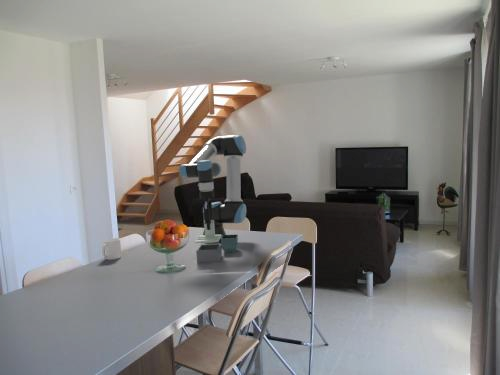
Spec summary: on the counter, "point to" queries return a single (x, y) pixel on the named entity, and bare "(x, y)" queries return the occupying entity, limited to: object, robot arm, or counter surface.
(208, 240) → the lid
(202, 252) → the tub
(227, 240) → the flower pot
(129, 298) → the counter surface
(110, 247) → the cup
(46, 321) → the counter surface
